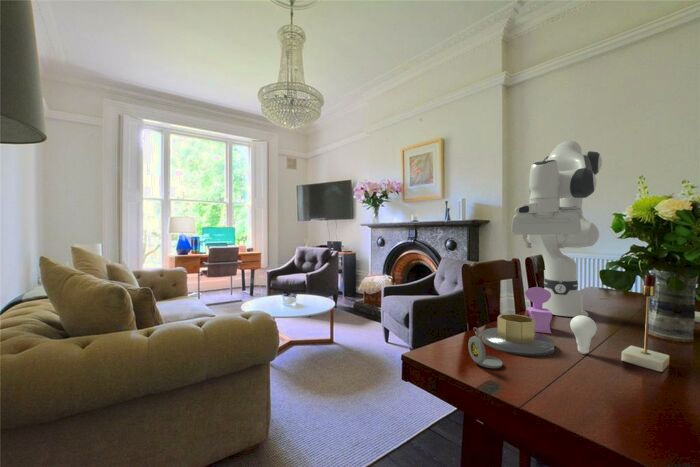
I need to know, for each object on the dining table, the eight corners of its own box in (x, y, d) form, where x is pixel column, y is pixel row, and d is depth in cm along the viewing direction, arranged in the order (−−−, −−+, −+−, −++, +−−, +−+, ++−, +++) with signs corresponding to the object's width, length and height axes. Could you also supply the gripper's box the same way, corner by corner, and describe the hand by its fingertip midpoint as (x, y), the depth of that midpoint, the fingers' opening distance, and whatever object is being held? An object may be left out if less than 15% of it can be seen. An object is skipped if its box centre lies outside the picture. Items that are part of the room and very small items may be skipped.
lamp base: (488, 329, 110) (488, 307, 110) (555, 340, 99) (555, 316, 99) (475, 346, 94) (475, 320, 94) (553, 362, 82) (553, 332, 82)
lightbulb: (601, 359, 85) (601, 319, 85) (575, 356, 86) (575, 317, 86) (590, 350, 90) (590, 313, 90) (566, 348, 92) (566, 312, 92)
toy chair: (528, 332, 108) (528, 289, 108) (523, 325, 116) (523, 285, 116) (555, 335, 105) (555, 291, 105) (549, 327, 113) (549, 287, 113)
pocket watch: (506, 364, 81) (506, 326, 81) (494, 374, 75) (494, 334, 75) (475, 355, 87) (475, 320, 87) (462, 364, 81) (462, 326, 81)
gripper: (581, 206, 102) (581, 247, 102) (512, 209, 113) (512, 246, 113) (583, 205, 96) (583, 249, 97) (510, 209, 108) (510, 248, 108)
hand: (544, 248), depth 105 cm, fingers open, 8 cm apart
